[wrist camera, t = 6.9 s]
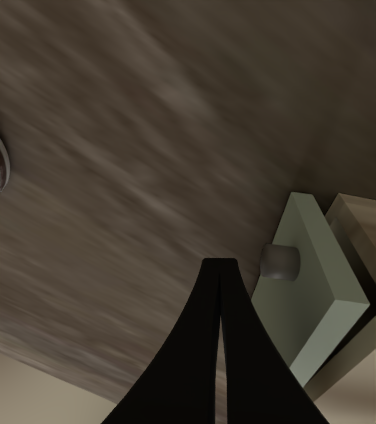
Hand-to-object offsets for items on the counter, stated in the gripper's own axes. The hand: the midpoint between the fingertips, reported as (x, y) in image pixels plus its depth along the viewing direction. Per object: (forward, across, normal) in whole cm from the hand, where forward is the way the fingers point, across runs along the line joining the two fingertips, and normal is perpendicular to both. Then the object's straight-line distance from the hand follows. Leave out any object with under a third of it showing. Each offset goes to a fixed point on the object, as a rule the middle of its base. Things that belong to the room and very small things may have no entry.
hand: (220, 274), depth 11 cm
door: (+3, -2, +4) cm, 6 cm away
